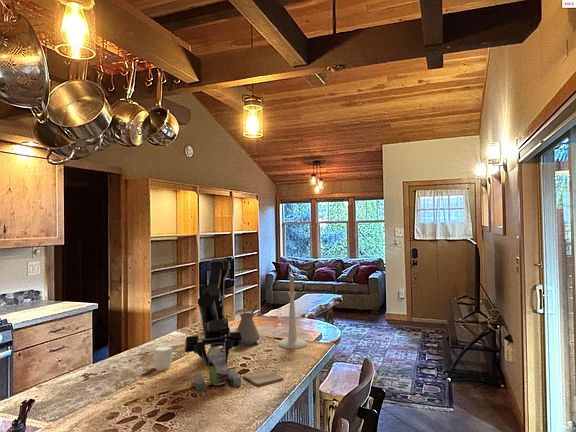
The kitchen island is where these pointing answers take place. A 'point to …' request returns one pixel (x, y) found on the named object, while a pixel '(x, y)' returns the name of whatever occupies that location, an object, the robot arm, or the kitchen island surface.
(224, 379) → the beverage can
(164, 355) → the shot glass
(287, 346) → the candlestick
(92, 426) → the kitchen island surface
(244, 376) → the walnut board
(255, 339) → the coffee pot
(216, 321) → the robot arm
